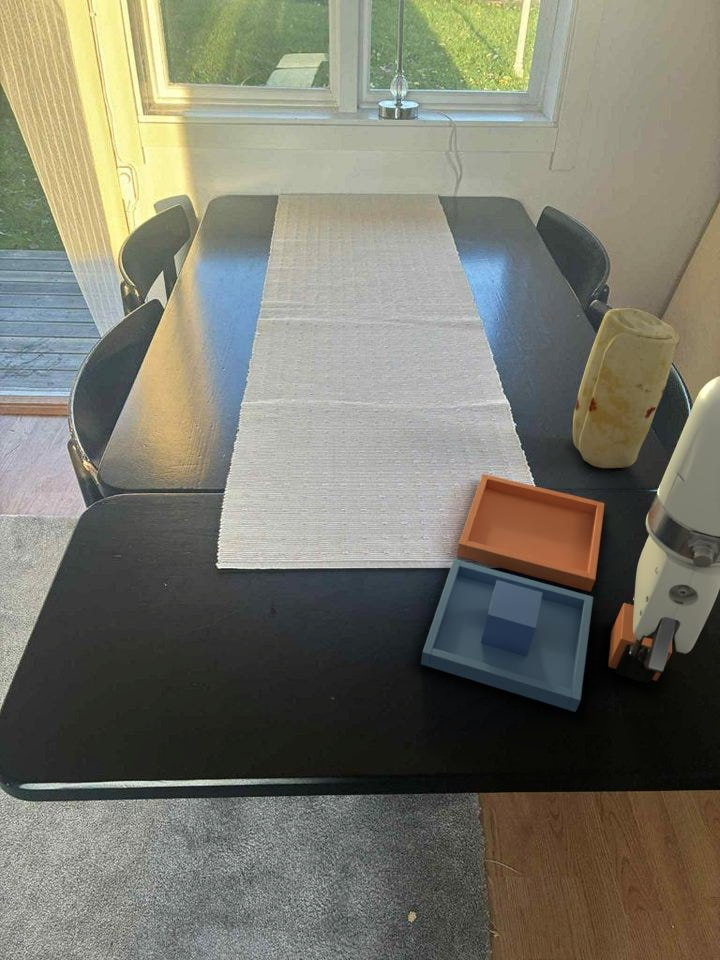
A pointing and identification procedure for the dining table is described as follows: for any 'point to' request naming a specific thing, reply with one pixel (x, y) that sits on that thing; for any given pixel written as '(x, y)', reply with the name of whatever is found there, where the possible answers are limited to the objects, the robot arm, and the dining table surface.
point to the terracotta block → (626, 637)
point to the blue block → (512, 618)
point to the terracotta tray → (534, 532)
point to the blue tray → (538, 675)
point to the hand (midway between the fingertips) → (634, 653)
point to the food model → (622, 386)
